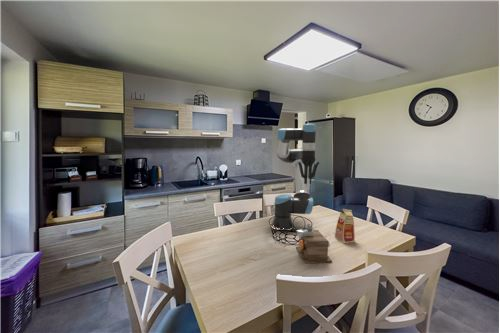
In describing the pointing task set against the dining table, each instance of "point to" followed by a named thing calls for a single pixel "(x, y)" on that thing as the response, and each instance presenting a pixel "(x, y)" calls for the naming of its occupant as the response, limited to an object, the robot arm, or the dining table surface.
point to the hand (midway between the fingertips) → (307, 189)
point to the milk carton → (345, 227)
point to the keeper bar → (305, 232)
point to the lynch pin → (302, 244)
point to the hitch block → (314, 249)
